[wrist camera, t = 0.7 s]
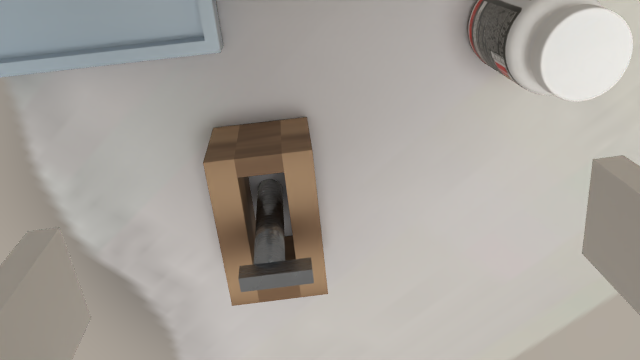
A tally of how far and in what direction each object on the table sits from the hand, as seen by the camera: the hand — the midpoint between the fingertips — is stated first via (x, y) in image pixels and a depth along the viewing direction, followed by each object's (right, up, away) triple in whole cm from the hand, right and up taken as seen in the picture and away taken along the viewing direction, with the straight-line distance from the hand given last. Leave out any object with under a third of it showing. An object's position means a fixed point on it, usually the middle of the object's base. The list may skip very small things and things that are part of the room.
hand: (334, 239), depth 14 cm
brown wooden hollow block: (-4, +1, +26) cm, 27 cm away
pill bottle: (+12, +12, +23) cm, 28 cm away
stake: (-4, +1, +26) cm, 27 cm away
